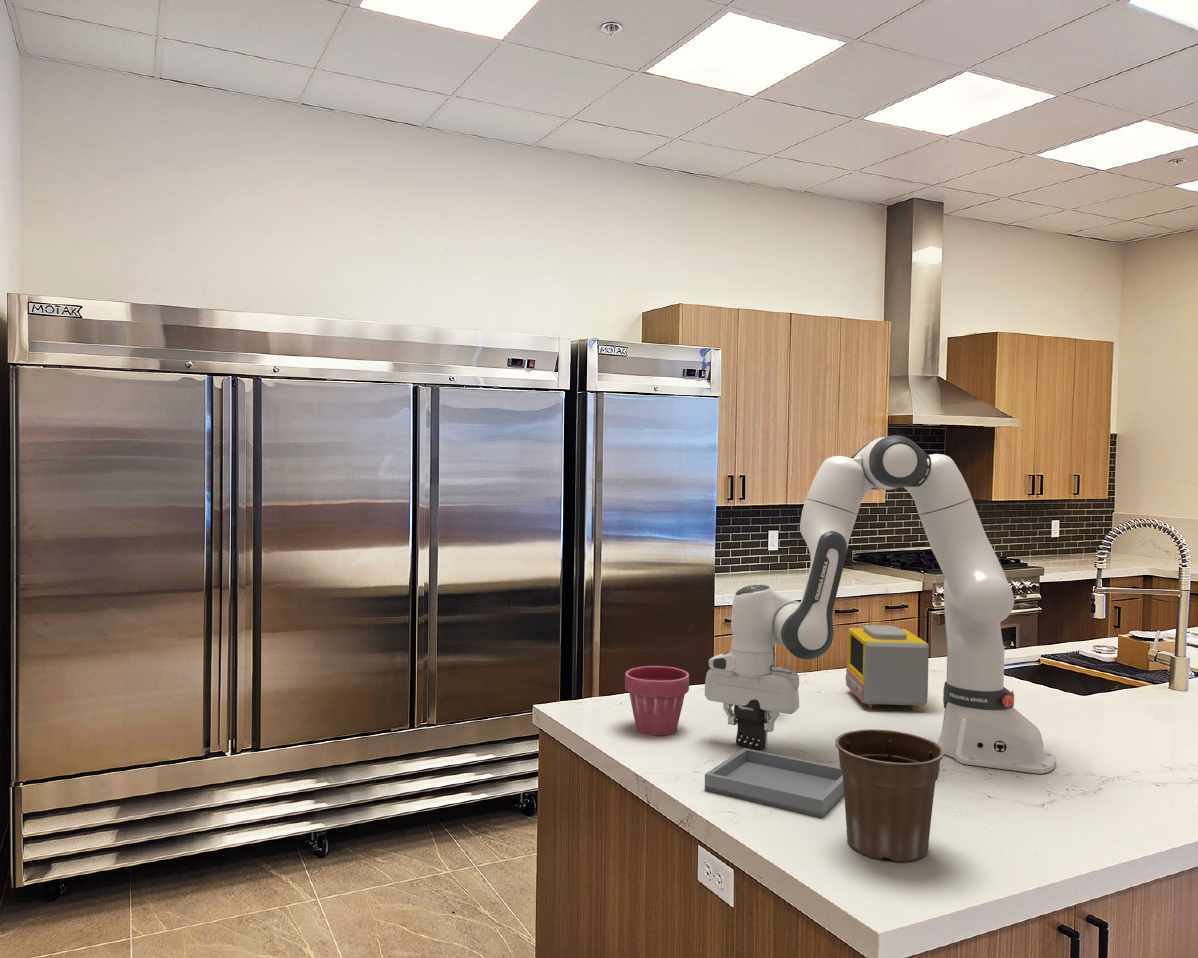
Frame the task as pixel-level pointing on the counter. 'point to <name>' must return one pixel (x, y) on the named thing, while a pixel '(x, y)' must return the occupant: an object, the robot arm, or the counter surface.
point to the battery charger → (751, 725)
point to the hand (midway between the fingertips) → (750, 727)
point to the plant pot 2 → (888, 792)
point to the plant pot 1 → (656, 697)
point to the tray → (778, 781)
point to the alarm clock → (887, 666)
